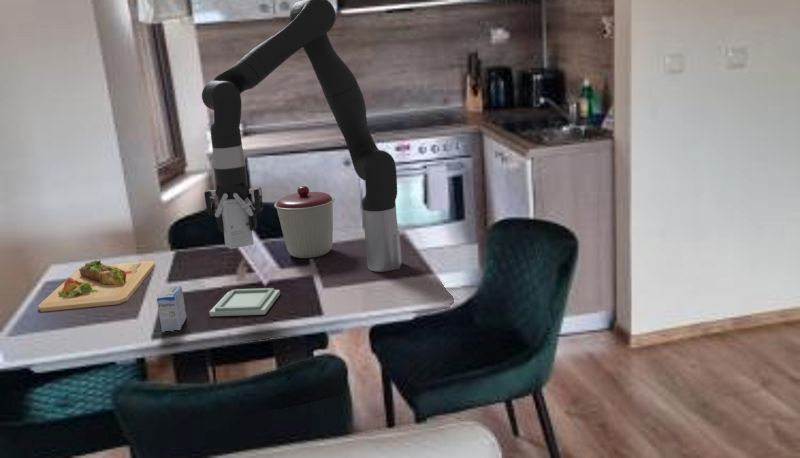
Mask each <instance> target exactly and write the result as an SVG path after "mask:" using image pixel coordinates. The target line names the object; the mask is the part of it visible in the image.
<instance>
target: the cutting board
mask: <svg viewBox="0 0 800 458" xmlns="http://www.w3.org/2000/svg"><path fill="white" fill-rule="evenodd" d="M155 267H156V262H154V261H153V260H147V261H145V260H144V261H134V262H125V263H124V262H123V263H116V264H107V265H106V264H103V263H102V261H101V259H99V260H96V259H94V260H92V261H90V262H89V263H88V262H86V263H84V265H83V266H81V267H80V268H78V269H77V270H76V271H75V272H74V273H72V274H71V275H70V276H68V277H67V279H65V281H63V283H61V284H60V285H59V286H58V287H57V288H56V289H54V291H52V292H50V294H49V295H48V296H47V297H46V298H45V299H44V300H42V302H39V304H38V305H37V308H38V310H39V311H40V312H42V313H43V312H44V313H45V312H54V311H61V310H63V311H64V310H72V309H73V310H75V309H82V308H95V307H103V306H114V305H121V304H123V303H125V302H127V301H129V299H130V298H131V297H132V296H133V295H134V293H135V292H136V290H138V288H139V287H140V286H141V285H142V284H143V282H144V281H145V279H146V278H147V277H148V276H149V274H151V272H152V270H153V269H154V268H155ZM147 275H148V276H147ZM143 280H144V281H143Z"/></svg>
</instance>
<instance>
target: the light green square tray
mask: <svg viewBox="0 0 800 458" xmlns="http://www.w3.org/2000/svg"><path fill="white" fill-rule="evenodd" d="M280 295H281V291H280V289H275V288H274V287H262V288H261V287H260V288H236V289H231V290H230V291H227V293H225V294H224V295H223V296H222V298H221V299H220V300H219V301H217V303H216V304H215V305H214V306H213V307H212V309H210V310H209V311H208V313H209V317H225V316H227V317H229V316H231V317H232V316H233V317H234V316H258V315H266V314H267V313H268V311H269V310H270V308H272V306H273V305H274V303H275V302H276V301H277V299H278V298H279V296H280Z"/></svg>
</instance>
